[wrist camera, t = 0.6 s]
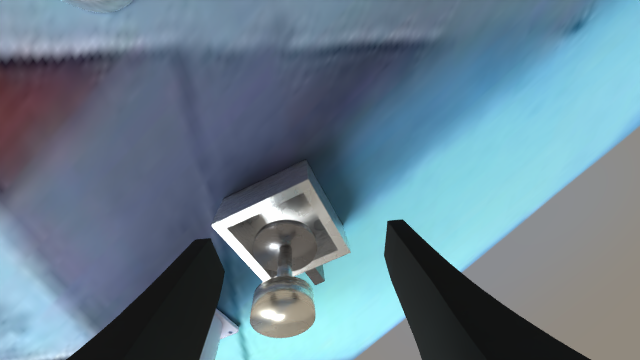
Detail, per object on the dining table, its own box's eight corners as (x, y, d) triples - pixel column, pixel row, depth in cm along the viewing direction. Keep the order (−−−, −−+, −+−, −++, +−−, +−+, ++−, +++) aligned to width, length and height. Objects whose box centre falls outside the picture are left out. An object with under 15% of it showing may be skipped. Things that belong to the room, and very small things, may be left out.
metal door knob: (274, 274, 20) (268, 352, 15) (240, 235, 18) (219, 312, 13) (326, 252, 19) (339, 325, 14) (298, 209, 17) (301, 278, 12)
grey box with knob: (283, 271, 26) (281, 301, 22) (222, 199, 21) (210, 225, 18) (352, 242, 25) (360, 269, 21) (305, 159, 20) (308, 179, 17)
